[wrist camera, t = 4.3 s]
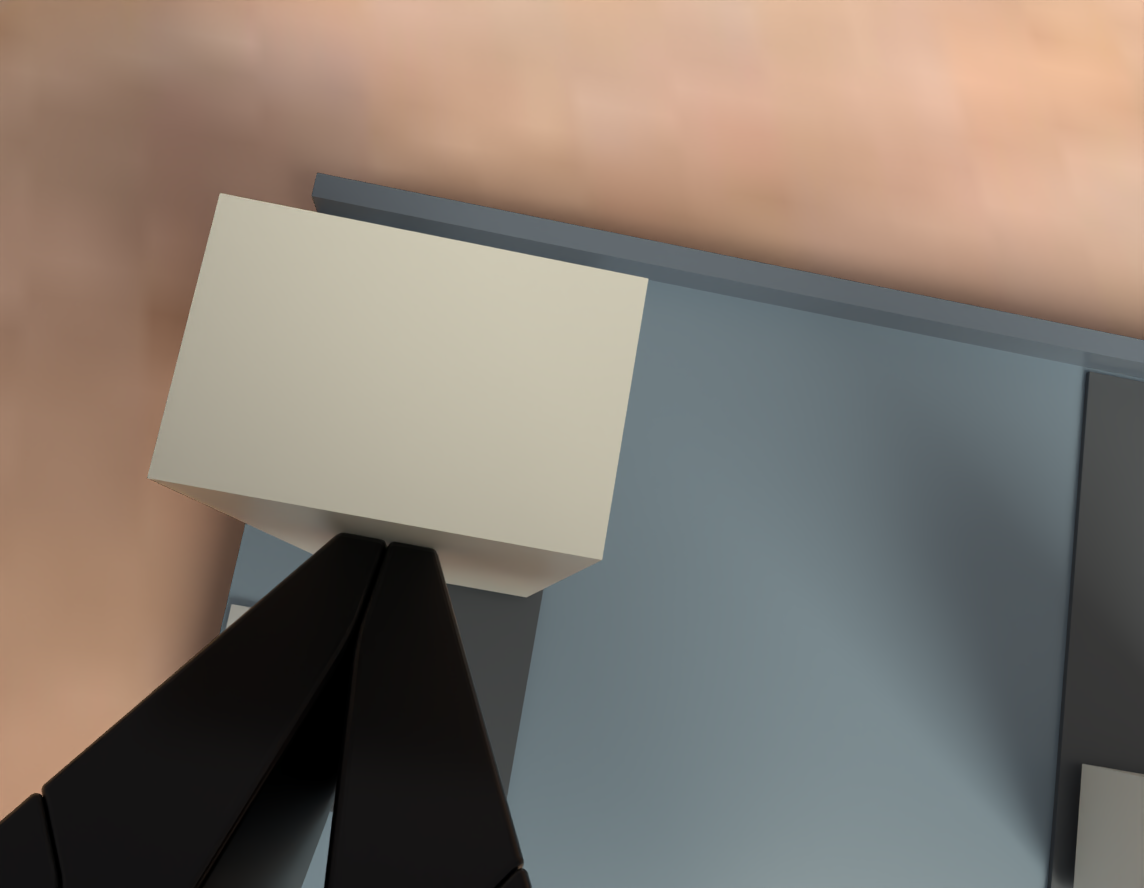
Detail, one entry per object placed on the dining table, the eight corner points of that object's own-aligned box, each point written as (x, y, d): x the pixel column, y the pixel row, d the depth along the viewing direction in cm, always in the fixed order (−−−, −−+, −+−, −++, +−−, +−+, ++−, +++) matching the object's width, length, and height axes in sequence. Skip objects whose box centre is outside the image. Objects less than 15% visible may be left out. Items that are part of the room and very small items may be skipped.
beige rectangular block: (526, 597, 16) (602, 559, 7) (331, 562, 15) (147, 478, 7) (549, 470, 16) (648, 277, 7) (358, 435, 16) (219, 193, 7)
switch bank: (1281, 1118, 16) (1361, 1166, 15) (158, 950, 15) (124, 985, 14) (1303, 405, 19) (1375, 386, 17) (329, 210, 17) (317, 172, 16)
